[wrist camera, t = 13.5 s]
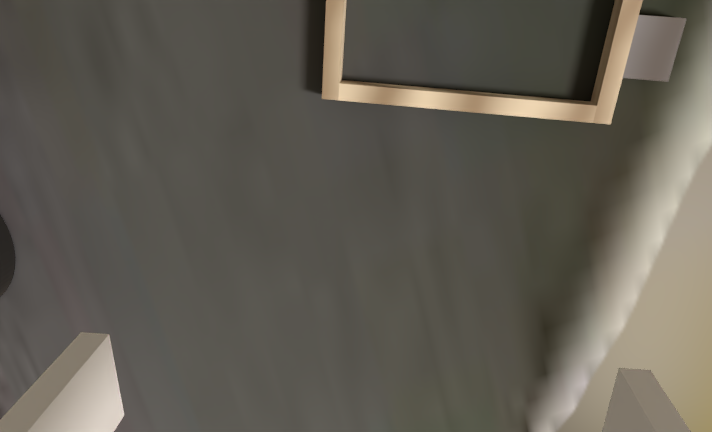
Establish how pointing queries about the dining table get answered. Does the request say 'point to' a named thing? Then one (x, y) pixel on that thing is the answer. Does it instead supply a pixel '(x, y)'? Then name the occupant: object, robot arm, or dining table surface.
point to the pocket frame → (619, 60)
